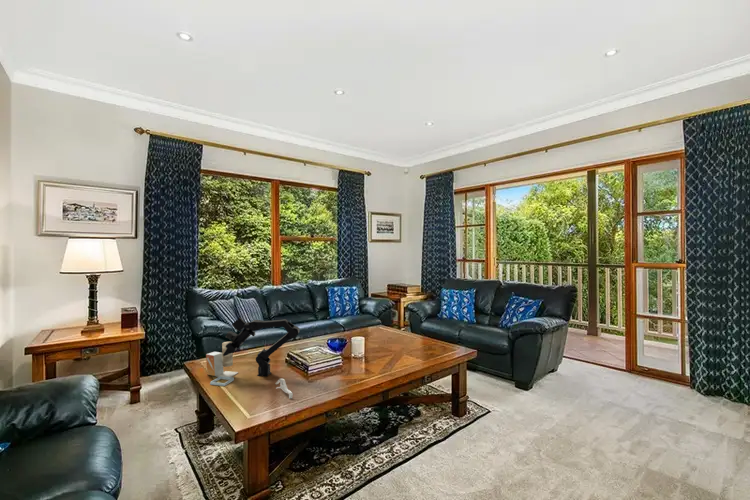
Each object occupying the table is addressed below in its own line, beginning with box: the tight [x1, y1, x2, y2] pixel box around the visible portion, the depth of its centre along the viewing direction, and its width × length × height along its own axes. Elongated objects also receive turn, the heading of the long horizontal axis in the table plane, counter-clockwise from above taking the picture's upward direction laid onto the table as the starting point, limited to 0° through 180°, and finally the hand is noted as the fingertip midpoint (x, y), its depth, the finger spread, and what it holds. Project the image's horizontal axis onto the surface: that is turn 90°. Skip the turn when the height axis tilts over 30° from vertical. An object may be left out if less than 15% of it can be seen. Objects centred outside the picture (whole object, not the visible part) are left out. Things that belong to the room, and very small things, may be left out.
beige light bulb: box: [221, 341, 234, 368], centre depth 223 cm, size 6×6×14 cm
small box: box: [205, 351, 225, 377], centre depth 224 cm, size 8×6×13 cm
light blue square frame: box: [209, 376, 235, 387], centre depth 211 cm, size 9×9×2 cm
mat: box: [216, 370, 239, 378], centre depth 223 cm, size 9×9×1 cm
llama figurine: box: [275, 378, 294, 399], centre depth 197 cm, size 2×11×18 cm
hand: (225, 353), depth 222 cm, fingers closed on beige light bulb, 6 cm apart
